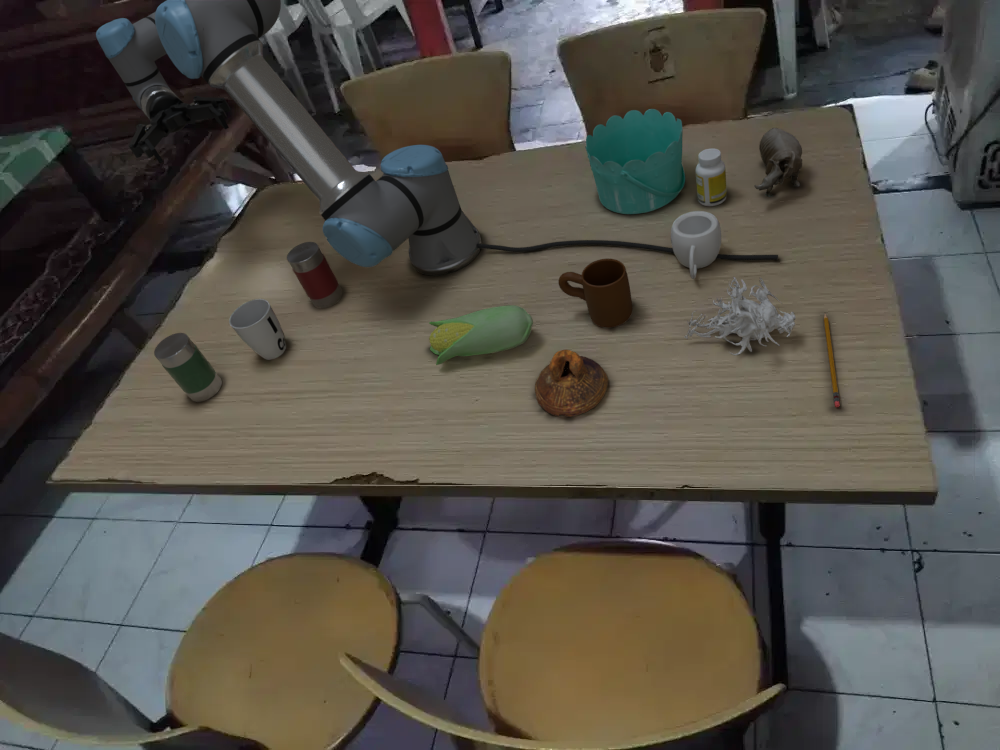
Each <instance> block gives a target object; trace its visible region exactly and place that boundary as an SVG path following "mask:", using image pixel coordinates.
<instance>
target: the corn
mask: <svg viewBox="0 0 1000 750" xmlns="http://www.w3.org/2000/svg"><path fill="white" fill-rule="evenodd" d="M428 324H429V325H431V326H433V327H436V328H435V329H434V330H433V331H432V332H431V333H430V335H429V338H428V341H429V343H430V347H429V350H430V352H432V353H433V354H434V355H437V356H438V357H437V360H436V363H435V364H436V366H439V365H441V364H443V363H445V362H447V361H448V360H450V359H453V358H455V357H457V356H458V357H469V356H479V355H480V356H481V355H489V354H493V353H499V352H504V351H507V350H510V349H514V348H516V347H518V346H521V345H522V344H524V343H526V342H527V340H528V339H529V337H530V335H531V331H532V328H533V325H534V319H533V317H532V315H530V314H529V313H528V311H527V310H526V309H525V308H524V307H521V306H519V305H513V304H508V305H500V306H493V307H487V308H484V309H479V310H476V311H473V312H470V313H467V314H464V315H460V316H457V317H453V318H447V319H442V320H438V321H430V322H428Z"/></svg>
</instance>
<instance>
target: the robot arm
mask: <svg viewBox="0 0 1000 750" xmlns="http://www.w3.org/2000/svg"><path fill="white" fill-rule="evenodd" d="M281 6H282V0H165V1H163V2H162V3H160V4H159V5H158V6H157V8H156V10H155V11H154V12H152V13H150V14H149V15H146V16H145V17H143V18H141V19H139V20H138V21H136V22H134V23H132V22H131V21H130V19H129V18H126V17H125V18H124V17H120V18H117V19H113V20H111V21H109V22H106V23H105V24H103V25H101V26H100V27H98V29H97V30H96V32H95V37H96V40H97V42H98V44H99V46H100V47H101V49H102V51H103V53H104V55H105V57H106V58H107V59H108V60H109V63H110V64H111V65H112V67H113V68H114V69H115V71H116V73H117V74H118V76H119V77H120V79H121V80H122V82H123V83H124V86H125V87H126V89H127V90H128V92H129V93H130V95H131V97H132V100H133V101H134V103H135V104H136V107H138V108H139V109H140V110H141V111H142V112H143V113H144V115H145V116H146V117H147V118H148V121H150V123H149V124H147V125H145V124H143V123H138V124H137V125H136V126H135V128H136V131H135V132H134V135H133V137H132V139H131V140H130V143H129V145H128V148H129V149H130V151H131V152H132V155H134V157H135V159H139V158H141V157H142V156H143V154H144V155H145V156H146V157H147V158H148V159H151V158H152V157H154V158H155V159H156V160H157V162H158V163H159V164H162V163H164V160H163V159H162V157H161V155H160V154H159V152H158V151H157V149H156V147H157V146H158V144H159V143H160V142H161V141H162V140H163V138H167V137H168V136H169V135H170V134H173V133H177V132H179V131H181V130H183V128H185V126H186V125H187V124H188V125H189V124H194V123H196V122H197V121H201V120H207V119H214V120H215V121H216V122H217V123H218V124H219V125H220V126H221V127H222V128H223V129H224V130H227V129H229V128H230V126H229V125H228V123H227V121H226V118H227V117H228V116H227V113H229V112H230V111H231V107H230V106H229V104H228V102H227V100H226V98H225V97H208V96H206V97H205V96H203V97H202V96H200V95H195V96H193V97H192V102H191V103H187V102H183V100H182V99H181V98H180V97H179V96H178V95H177V94H176V93H175V92H174V91H173V90H172V89H171V88H170V86H169V85H168V83H167V82H166V80H165V79H164V77H163V75H162V73H161V72H160V69H159V68H158V65H157V64H156V63H155V62H156V61H157V60H158V59H161V58H162V57H164V56H165V55H167V56H168V58H169V59H170V61H171V62H172V64H173V65H174V66H175V67H176V69H177V70H178V71H179V72H180V73H181V74H182V75H184V76H185V77H186V78H188V79H190V80H195V79H197V80H198V79H200V77H201V78H202V79H203V80H204V81H205V82H206V84H208V86H209V87H210V88H211V89H212V88H213V89H220V90H224V91H225V92H226V93H227V94H228V95H229V96H230V98H231V99H232V100H233V101H234V103H235V104H236V105H237V106H238V107H239V108H240V110H241V111H242V112H243V113H244V114H245V115H246V116H247V118H248V119H249V120H250V121H251V122H252V124H253V125H254V126H255V127H256V128H257V130H258V131H259V132H260V133H261V134H262V135H263V137H264V138H265V139H266V140H267V141H268V142H269V143H270V145H271V146H272V147H273V148H274V149H275V151H276V152H277V153H278V154H279V155H280V156H281V158H282V159H283V160H284V161H285V162H286V163H287V165H288V166H289V167H290V169H292V170H293V172H294V173H295V174H296V175H297V177H298V178H299V179H300V181H302V182H303V184H304V185H305V186H306V187H307V188H308V189H309V190H310V192H312V194H313V195H314V197H316V198H317V200H318V202H319V215H320V217H322V219H323V220H324V222H323V225H322V233H323V236H324V238H326V241H327V243H328V244H329V245H330V246H331V248H332V249H333V250H334V251H335V252H336V253H338V254H339V255H340V256H341V257H342V258H344V259H345V260H347V261H348V262H350V263H351V264H354V265H357V266H359V267H362V268H373V267H376V266H377V265H379V264H380V263H381V262H382V261H384V260H385V259H387V258H389V257H390V256H392V254H393V252H395V251H396V250H397V249H398V248H399V247H400V246H401V245H402V244H403V243H404V242H405V241H407V240H408V258H409V261H410V263H411V266H412V268H413V269H414V270H415V271H416V272H418V273H420V274H422V275H426V276H443V275H447V274H451V273H454V272H456V271H459V270H460V269H463V268H465V267H466V266H467V265H469V264H470V263H471V262H472V261H474V260H475V259H476V257H477V256H478V255H479V254H480V252H481V250H482V249H483V250H494V251H502V252H508V253H510V252H511V253H526V252H527V253H528V252H533V251H540V250H544V249H549V248H550V249H551V248H558V247H567V246H612V247H613V246H614V247H624V248H634V249H641V250H648V251H649V250H650V251H655V252H662V253H666V254H667V253H668V254H674V251H673V248H672V247H667V246H662V245H655V244H647V243H641V242H640V243H639V242H629V241H622V240H621V241H620V240H606V239H605V240H604V239H578V240H577V239H576V240H561V241H553V242H548V243H541V244H538V245H532V246H524V247H523V246H521V247H513V246H505V245H500V244H499V245H497V244H486V243H483V241H482V238H481V235H480V232H479V230H478V228H477V227H476V226H475V225H474V223H473V222H472V221H471V220H470V219H469V218H468V217H467V215H466V213H464V211H463V209H462V207H461V203H460V200H459V198H458V195H457V192H456V189H455V187H454V184H453V181H452V178H451V174H450V172H449V166H448V164H447V162H446V160H445V159H444V156H443V154H442V152H441V151H440V150H439V149H438V148H437V147H435V146H432V145H428V144H413V145H407V146H403V147H399V148H397V149H395V150H393V151H391V152H389V153H388V154H386V155H385V156H384V157H383V158H382V160H381V162H380V171H381V172H382V173H383V174H382V175H381V176H380V177H379V178H378V179H375V178H374V177H373V176H372V175H371V173H369V172H367V171H359V170H356V169H355V167H354V166H353V165H352V164H351V162H349V161H350V160H348V159H347V158H346V157H345V155H344V154H343V153H342V152H341V151H340V149H339V148H338V147H337V146H336V145H335V143H334V142H333V141H332V139H331V138H330V137H329V136H328V135H327V134H326V132H325V130H323V128H322V127H321V126H320V125H319V124H318V122H317V121H316V120H315V119H314V118H313V116H312V115H311V114H310V113H309V112H308V110H307V109H306V108H305V107H304V106H303V104H302V103H301V102H300V100H298V98H297V97H296V96H295V95H294V93H293V92H292V91H291V90H290V89H289V87H288V86H287V85H286V83H284V82H283V80H282V79H281V78H280V76H279V75H278V74H277V73H276V72H275V71H274V69H273V68H272V66H270V64H269V63H268V62H267V61H266V59H265V58H264V44H263V42H262V40H260V39H261V38H262V37H263V36H265V35H266V34H267V33H269V31H271V30H272V28H273V27H274V25H275V24H276V23H277V21H278V18H279V16H280V13H281ZM715 260H725V261H779V254H725V253H718V255H717V257H716V259H715Z"/></svg>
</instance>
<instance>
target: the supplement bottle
mask: <svg viewBox="0 0 1000 750" xmlns="http://www.w3.org/2000/svg"><path fill="white" fill-rule="evenodd" d="M697 159H698V163H697V165H696V166H695V181H696V194H697V201H698V203H699V204H700V205H702V206H705V207H715V206H718V205H720V204H722V203H723V202H725V201H726V199H727V196H728V195H727V193H728V192H727V191H728V189H727V171H726V164H725V162H724V161H723V160H722V153H721V150H719V149H718V148H714V147H713V148H711V147H710V148H705V149H703V150H702V151H700V152H699V153H698V156H697Z"/></svg>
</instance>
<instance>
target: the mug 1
mask: <svg viewBox="0 0 1000 750" xmlns="http://www.w3.org/2000/svg"><path fill="white" fill-rule="evenodd" d="M569 282H571V283H575V284H578V285H580V286H582V287H580V286H573V285H571V284H570V283H569ZM558 287H559V288H560V290H561V291H562V292H563V293H564V294H565V295H567V296H569V297H573V298H578V299H581V300H583V301H585V304H586V306H587V311H588V314H589V315H588V316H589V318H590V320H591V322H592V323H594V325H596V326H598V327H601V328H606V329H607V328H608V329H609V328H616V327H619V326H622V325H623V324H625V323H626V322H627V321H629V319H630V318H631V317H632V315H633V310H634V305H633V298H632V293H631V287H630V280H629V276H628V272H627V268H626V266H625V264H624V263H623V262H622V261H620V260H618V259H615V258H600V259H596V260H594V261H592V262H590V263H589V264H588V265H586V266H585V267H584V268H583V270H582V272H581V273H577V272H575V271H567V272H563V273H562V274H561V275H560V276H559V278H558Z"/></svg>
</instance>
